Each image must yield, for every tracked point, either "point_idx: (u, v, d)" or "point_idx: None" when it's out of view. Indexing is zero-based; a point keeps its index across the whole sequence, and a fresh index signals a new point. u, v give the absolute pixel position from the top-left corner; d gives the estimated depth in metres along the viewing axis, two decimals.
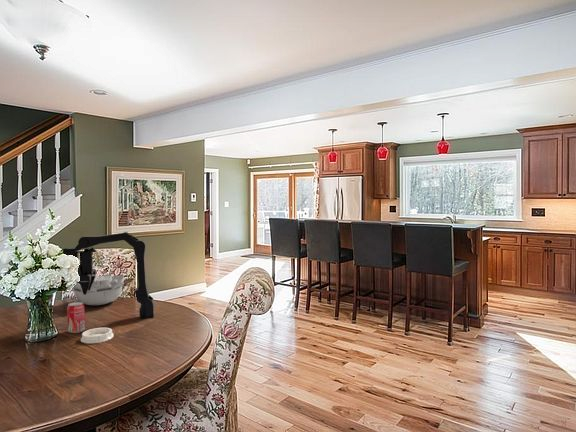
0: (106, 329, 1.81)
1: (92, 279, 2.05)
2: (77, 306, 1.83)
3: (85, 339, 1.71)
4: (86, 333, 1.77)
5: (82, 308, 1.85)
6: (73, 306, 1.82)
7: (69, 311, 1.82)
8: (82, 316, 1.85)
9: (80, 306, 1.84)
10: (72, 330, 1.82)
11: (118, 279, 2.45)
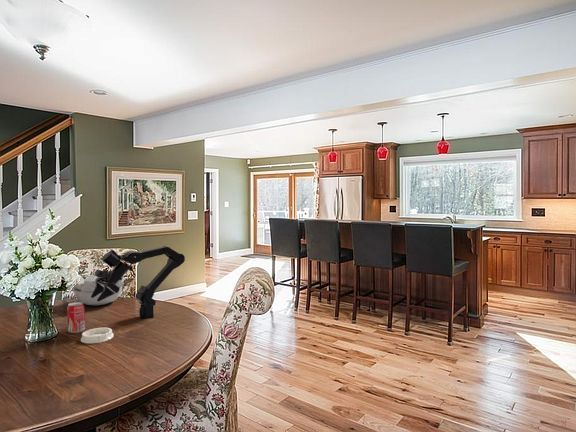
0: (106, 329, 1.81)
1: (102, 290, 1.98)
2: (77, 306, 1.83)
3: (85, 339, 1.71)
4: (86, 333, 1.77)
5: (82, 308, 1.85)
6: (73, 306, 1.82)
7: (69, 311, 1.82)
8: (82, 316, 1.85)
9: (80, 306, 1.84)
10: (72, 330, 1.82)
11: None
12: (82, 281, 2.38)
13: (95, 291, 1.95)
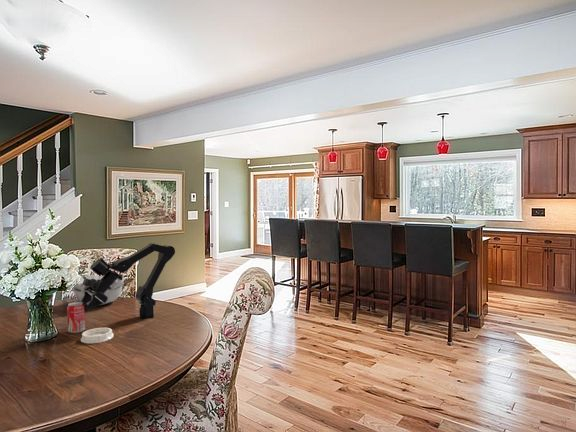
0: (106, 329, 1.81)
1: (90, 299, 1.94)
2: (77, 306, 1.83)
3: (85, 339, 1.71)
4: (86, 333, 1.77)
5: (82, 308, 1.85)
6: (73, 306, 1.82)
7: (69, 311, 1.82)
8: (82, 316, 1.85)
9: (80, 306, 1.84)
10: (72, 330, 1.82)
11: (118, 279, 2.45)
12: (82, 281, 2.38)
13: (83, 300, 1.92)
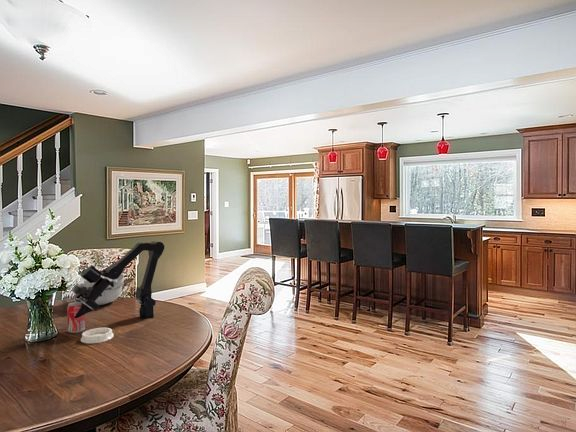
0: (106, 329, 1.81)
1: None
2: (77, 306, 1.83)
3: (85, 339, 1.71)
4: (86, 333, 1.77)
5: None
6: (73, 306, 1.82)
7: (69, 311, 1.82)
8: (82, 316, 1.85)
9: (80, 306, 1.84)
10: (72, 330, 1.82)
11: (118, 279, 2.45)
12: (82, 281, 2.38)
13: None
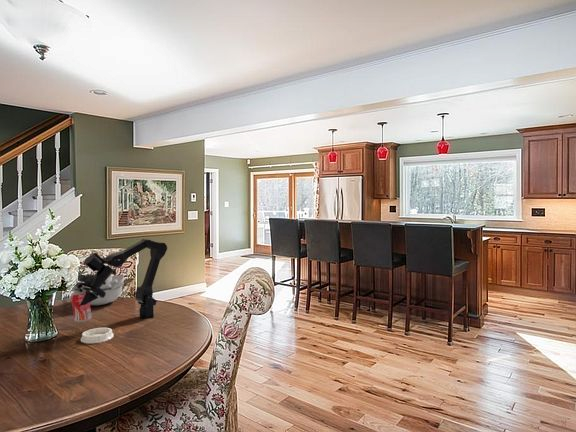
0: (106, 329, 1.81)
1: None
2: (81, 294, 1.80)
3: (85, 339, 1.71)
4: (86, 333, 1.77)
5: None
6: (77, 295, 1.79)
7: (73, 300, 1.79)
8: (87, 304, 1.82)
9: (84, 294, 1.81)
10: (79, 319, 1.79)
11: (118, 279, 2.45)
12: None
13: None
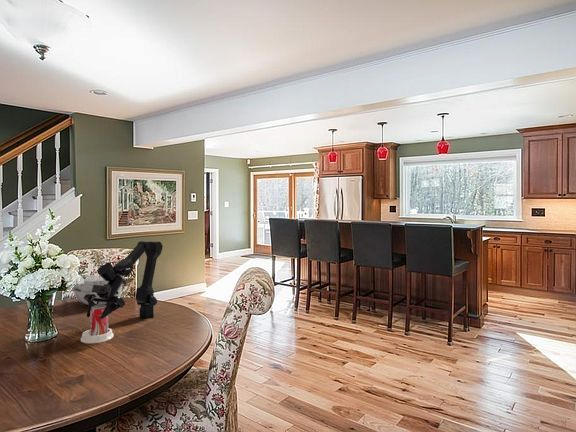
0: None
1: None
2: (104, 308, 1.76)
3: (85, 339, 1.71)
4: (86, 333, 1.77)
5: None
6: (100, 309, 1.74)
7: (95, 314, 1.73)
8: (107, 319, 1.78)
9: None
10: (99, 334, 1.74)
11: None
12: (82, 281, 2.38)
13: (90, 309, 1.77)
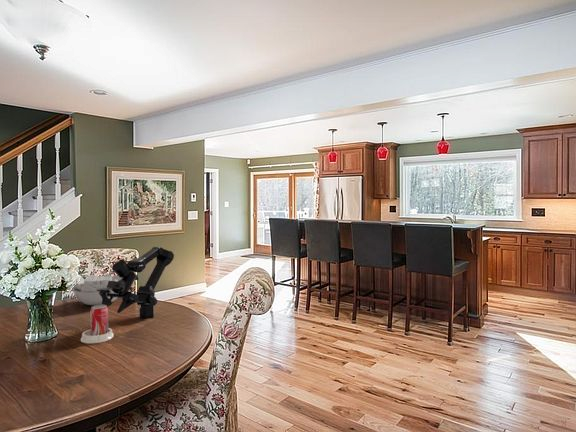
0: None
1: (108, 302, 1.89)
2: (104, 308, 1.76)
3: (85, 339, 1.71)
4: (86, 333, 1.77)
5: (107, 310, 1.78)
6: (100, 309, 1.74)
7: (96, 314, 1.74)
8: (107, 318, 1.78)
9: (106, 308, 1.77)
10: (99, 334, 1.74)
11: (118, 279, 2.45)
12: (82, 281, 2.38)
13: (104, 304, 1.86)
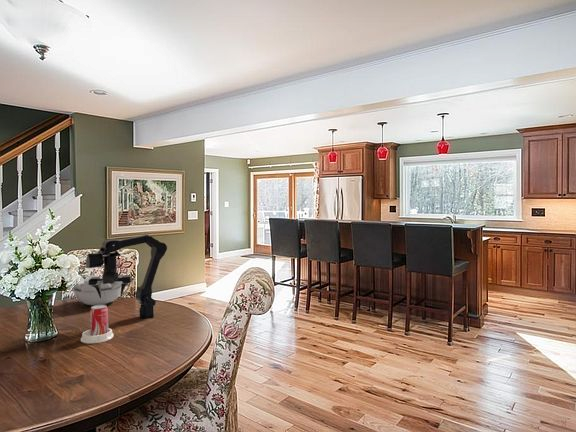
0: None
1: (100, 286, 1.96)
2: (104, 308, 1.76)
3: (85, 339, 1.71)
4: (86, 333, 1.77)
5: (107, 310, 1.78)
6: (100, 309, 1.74)
7: (95, 315, 1.73)
8: (107, 318, 1.78)
9: (106, 308, 1.77)
10: (99, 334, 1.74)
11: None
12: (82, 281, 2.38)
13: (100, 291, 1.94)
